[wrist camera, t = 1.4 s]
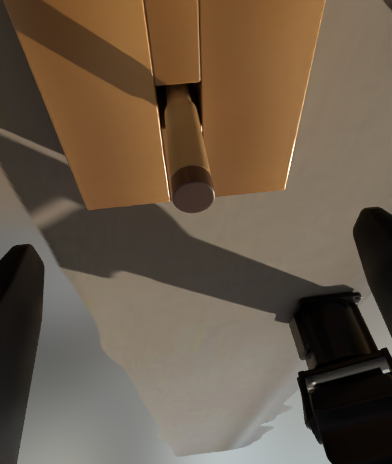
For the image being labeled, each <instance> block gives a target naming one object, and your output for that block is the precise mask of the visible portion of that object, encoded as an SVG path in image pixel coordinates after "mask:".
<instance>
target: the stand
mask: <svg viewBox="0 0 392 464" xmlns="http://www.w3.org/2000/svg"><path fill="white" fill-rule="evenodd" d="M325 1H326V0H3V2H4V4H5V7H6V9H7V12H8V14H9V17H10V19H11V22H12V24H13V27H14V29H15V32H16V34H17V37H18V39H19V42H20V44H21V47H22V49H23V52H24V54H25V57H26V59H27V62H28V64H29V67H30V69H31V72H32V74H33V77H34V79H35V82H36V84H37V87H38V89H39V92H40V94H41V97H42V99H43V102H44V104H45V107H46V109H47V112H48V114H49V116H50V119H51V121H52V124H53V126H54V129H55V131H56V134H57V136H58V139H59V141H60V144H61V146H62V149H63V151H64V154H65V156H66V159H67V161H68V164H69V166H70V169H71V171H72V174H73V176H74V179H75V181H76V184H77V186H78V189H79V191H80V194H81V196H82V199H83V201H84V204H85V206H86V209H87V210H92V209H102V208H112V207H121V206H131V205H140V204H150V203H160V202H169V201H172V191H171V180H170V169H169V158H168V147H167V136H166V125H165V109H166V107H167V97H166V90H159V91H158V89H157V86H161V85H173V84H184V83H194V88H189V93H190V98H191V102H193V103H194V105H195V106H196V109H197V113H198V118H199V122H200V127H201V131H202V136H203V141H204V145H205V150H206V154H207V159H208V164H209V168H210V173H211V178H212V182H213V187H214V191H215V197H219V196H228V195H238V194H247V193H257V192H267V191H276V190H285V187H286V182H287V177H288V173H289V168H290V163H291V159H292V154H293V149H294V145H295V140H296V135H297V131H298V126H299V122H300V117H301V112H302V108H303V103H304V98H305V94H306V89H307V84H308V80H309V75H310V70H311V66H312V61H313V56H314V52H315V47H316V42H317V38H318V33H319V29H320V24H321V19H322V15H323V10H324V5H325Z"/></svg>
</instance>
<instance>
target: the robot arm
mask: <svg viewBox="0 0 392 464" xmlns="http://www.w3.org/2000/svg"><path fill="white" fill-rule="evenodd" d="M353 236H354V240H355V243H356V246H357V250H358V253H359V256H360V259H361V263H362V266H363V269H364V272H365V276H366V279H367V282H368V284H369V287H370V289H371V291H372V294H373V296H374V298H375V301H376V303H377V305H378V307H379V310H380V312H381V314H382V316H383V319H384V321H385V323H386V325H387V328H388V330H389V332H390V335H391V337H392V215H391V214H390V213H388V212H387V211H385V210H384V209H382V208H380V207H369V208H364V209H363V210H362V211H361V212H360V214H359V217H358V219H357V221H356V223H355V225H354V228H353ZM43 289H44V264H43V261H42V260H41V258H40V257H39V255H38V253H37V252H36V251H35V249H34V247H33V246H32V245H30V244H23V245H16V246H13V247H12V248H11V249H10V250H9V251H8V253H6V254H5V256H4V257H3V258H2V259H1V260H0V464H17V460H18V454H19V448H20V443H21V436H22V431H23V425H24V420H25V414H26V408H27V403H28V397H29V391H30V386H31V380H32V374H33V368H34V363H35V357H36V351H37V346H38V340H39V334H40V329H41V321H42V309H43ZM361 298H362V296H361V294H360V293H359V292H355V293H346V294H338V295H330V296H321V297H313V298H304V299H301V300H299V302H298V304H297V307H296V310H295V312H294V314H293V316H292V319H291V321H290V324H289V326H290V329H291V332H292V335H293V338H294V341H295V345H296V348H297V351H298V354H299V357H300V359H301V360H306V363H307V366H308V369H309V370H307V371H300V372H298V375H299V377H298V378H297V381H298V384H299V388H300V391H301V396H302V403H303V410H304V420H305V424H306V426H307V428H309V429H310V430H312V432H313V434H314V435H315V437H316V439H317V441H318V443H319V444H323V446H324V449H325V452H326V456H327V458H328V460H329V461H330V462H331V463H332V464H392V357H391V355H390V353H389V351H388V349H387V348H383V349H381V350H378V348H377V346H376V344H375V342H374V340H373V338H372V336H371V334H370V332H369V330H368V327H367V325H366V323H365V321H364V319H363V317H362V315H361V313H360V311H359V308H358V306H357V304H358V302H359V301H360V299H361ZM385 369H389V370H390V372H388V373H385V374H383V372H382V370H385Z"/></svg>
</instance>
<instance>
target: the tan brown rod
mask: <svg viewBox="0 0 392 464" xmlns="http://www.w3.org/2000/svg"><path fill="white" fill-rule="evenodd" d="M165 88H166V97H167V107H166V109H165V125H166V136H167V147H168V158H169V169H170V180H171V191H172V201H173V203H174V205H175V206H176V207H177V208H178V209H179V210H181V211H183V212H187V213H197V212H201V211H203V210H205V209H207V208H208V207H209V206H211V204H212V203H213V201H214V198H215V191H214V187H213V182H212V178H211V173H210V168H209V164H208V159H207V154H206V150H205V145H204V141H203V136H202V131H201V127H200V122H199V118H198V113H197V109H196V106H195V105H194V103H193V102H191V98H190V93H189V88H188V83H184V84H173V85H165Z"/></svg>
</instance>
